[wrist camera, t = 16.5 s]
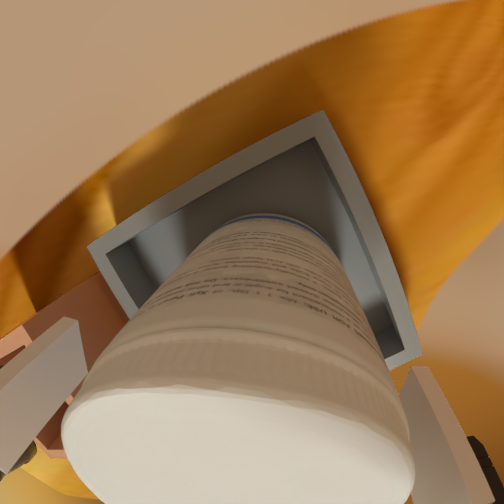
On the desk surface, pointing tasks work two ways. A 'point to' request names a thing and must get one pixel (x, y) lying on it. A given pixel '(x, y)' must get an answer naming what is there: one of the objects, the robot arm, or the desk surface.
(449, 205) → the desk surface
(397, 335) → the gray tray
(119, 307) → the terracotta bin
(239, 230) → the supplement tub
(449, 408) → the robot arm
